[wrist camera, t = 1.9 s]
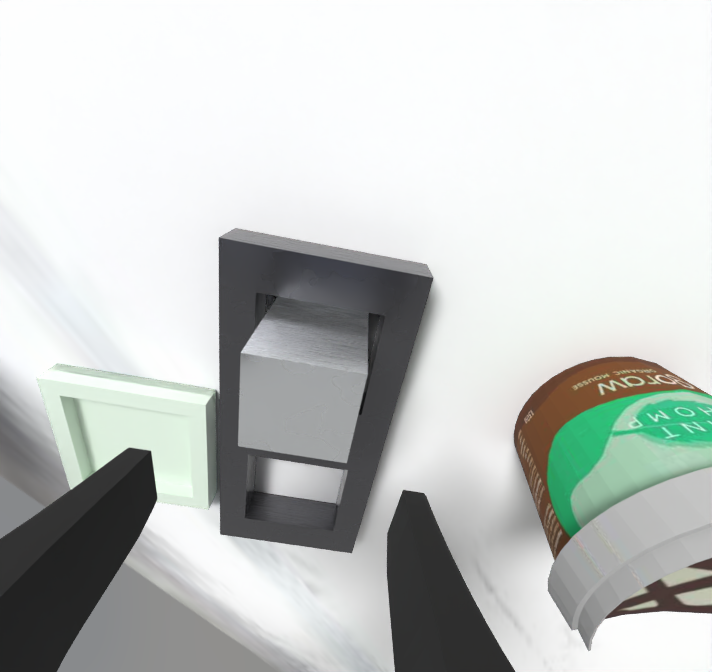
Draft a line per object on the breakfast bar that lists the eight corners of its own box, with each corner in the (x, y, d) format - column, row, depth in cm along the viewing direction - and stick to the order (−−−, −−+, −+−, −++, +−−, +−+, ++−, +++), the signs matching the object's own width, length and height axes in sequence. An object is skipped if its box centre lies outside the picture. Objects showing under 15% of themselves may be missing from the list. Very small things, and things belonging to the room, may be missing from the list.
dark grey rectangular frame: (230, 507, 25) (220, 534, 23) (235, 228, 16) (218, 237, 14) (353, 525, 26) (351, 553, 24) (426, 264, 16) (433, 277, 15)
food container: (728, 307, 17) (1123, 477, 8) (712, 404, 20) (996, 610, 11) (473, 370, 19) (563, 557, 10) (490, 449, 22) (572, 652, 13)
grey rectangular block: (274, 366, 19) (237, 446, 14) (280, 292, 17) (240, 352, 12) (353, 379, 20) (346, 463, 14) (368, 308, 18) (367, 374, 12)
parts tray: (85, 472, 24) (70, 489, 23) (57, 363, 20) (36, 377, 19) (216, 491, 24) (208, 509, 23) (215, 389, 20) (205, 405, 19)
